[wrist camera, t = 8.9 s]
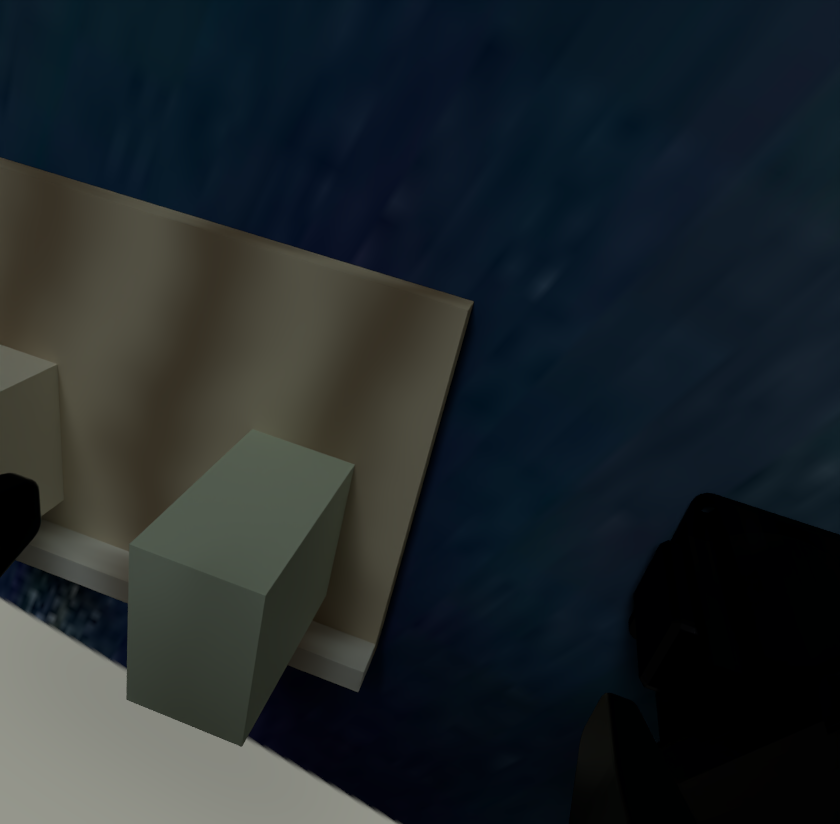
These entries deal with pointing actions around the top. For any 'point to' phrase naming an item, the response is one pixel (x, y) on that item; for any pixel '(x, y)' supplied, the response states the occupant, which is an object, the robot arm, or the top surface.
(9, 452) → the cream carton
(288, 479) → the sage carton
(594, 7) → the top surface
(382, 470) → the beige shallow tray
